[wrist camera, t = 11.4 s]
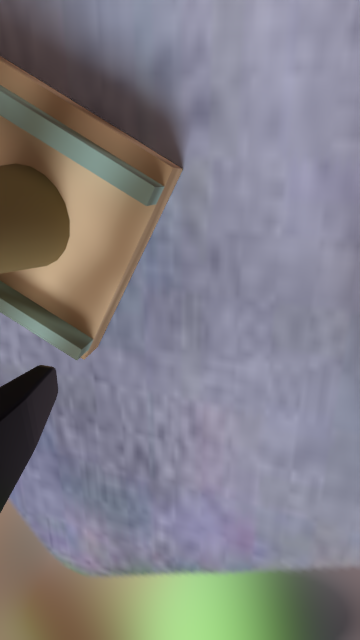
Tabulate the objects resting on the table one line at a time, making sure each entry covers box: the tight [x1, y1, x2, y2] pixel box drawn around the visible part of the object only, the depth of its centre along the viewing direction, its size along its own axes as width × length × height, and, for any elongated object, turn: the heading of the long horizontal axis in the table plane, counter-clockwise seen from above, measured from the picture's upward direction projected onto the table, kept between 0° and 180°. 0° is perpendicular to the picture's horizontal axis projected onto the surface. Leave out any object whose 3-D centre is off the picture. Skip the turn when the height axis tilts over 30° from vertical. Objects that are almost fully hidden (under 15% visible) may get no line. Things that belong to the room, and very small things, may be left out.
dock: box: [0, 56, 183, 360], centre depth 20 cm, size 14×14×4 cm
